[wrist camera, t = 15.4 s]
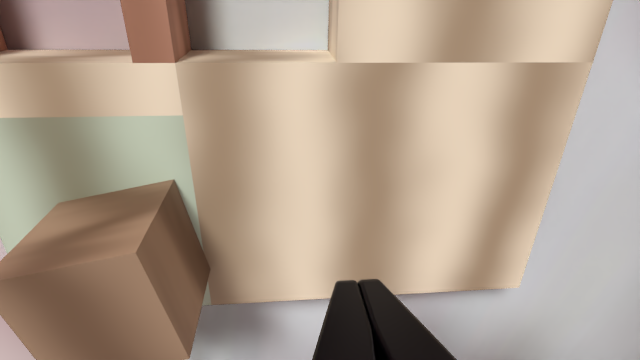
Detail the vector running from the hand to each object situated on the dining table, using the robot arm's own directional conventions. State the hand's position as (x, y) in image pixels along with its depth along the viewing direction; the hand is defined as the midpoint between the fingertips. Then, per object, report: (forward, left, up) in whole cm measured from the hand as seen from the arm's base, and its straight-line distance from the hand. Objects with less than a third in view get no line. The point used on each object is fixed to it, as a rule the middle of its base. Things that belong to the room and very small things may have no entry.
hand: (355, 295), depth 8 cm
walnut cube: (+8, +5, -10) cm, 13 cm away
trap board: (+1, -1, -13) cm, 13 cm away
